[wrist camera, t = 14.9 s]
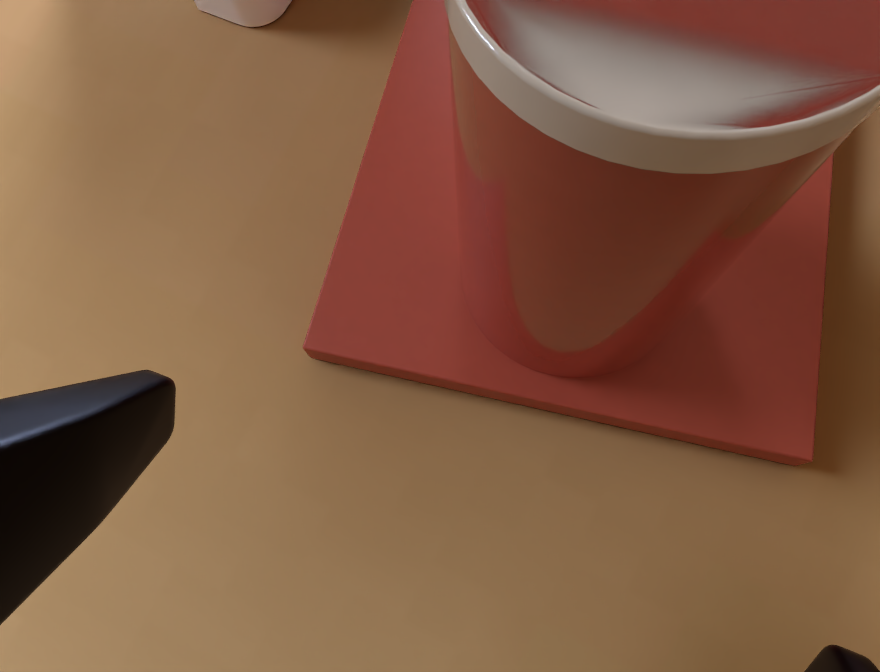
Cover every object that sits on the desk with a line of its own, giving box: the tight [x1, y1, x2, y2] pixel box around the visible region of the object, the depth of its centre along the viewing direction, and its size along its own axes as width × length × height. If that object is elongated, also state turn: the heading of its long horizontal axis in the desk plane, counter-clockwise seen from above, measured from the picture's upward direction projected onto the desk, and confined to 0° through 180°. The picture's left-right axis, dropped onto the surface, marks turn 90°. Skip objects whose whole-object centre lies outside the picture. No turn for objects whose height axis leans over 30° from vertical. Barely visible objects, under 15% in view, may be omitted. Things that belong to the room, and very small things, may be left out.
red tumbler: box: [444, 0, 880, 378], centre depth 13 cm, size 6×6×11 cm
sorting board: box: [303, 0, 834, 466], centre depth 22 cm, size 26×14×1 cm, turn 166°
